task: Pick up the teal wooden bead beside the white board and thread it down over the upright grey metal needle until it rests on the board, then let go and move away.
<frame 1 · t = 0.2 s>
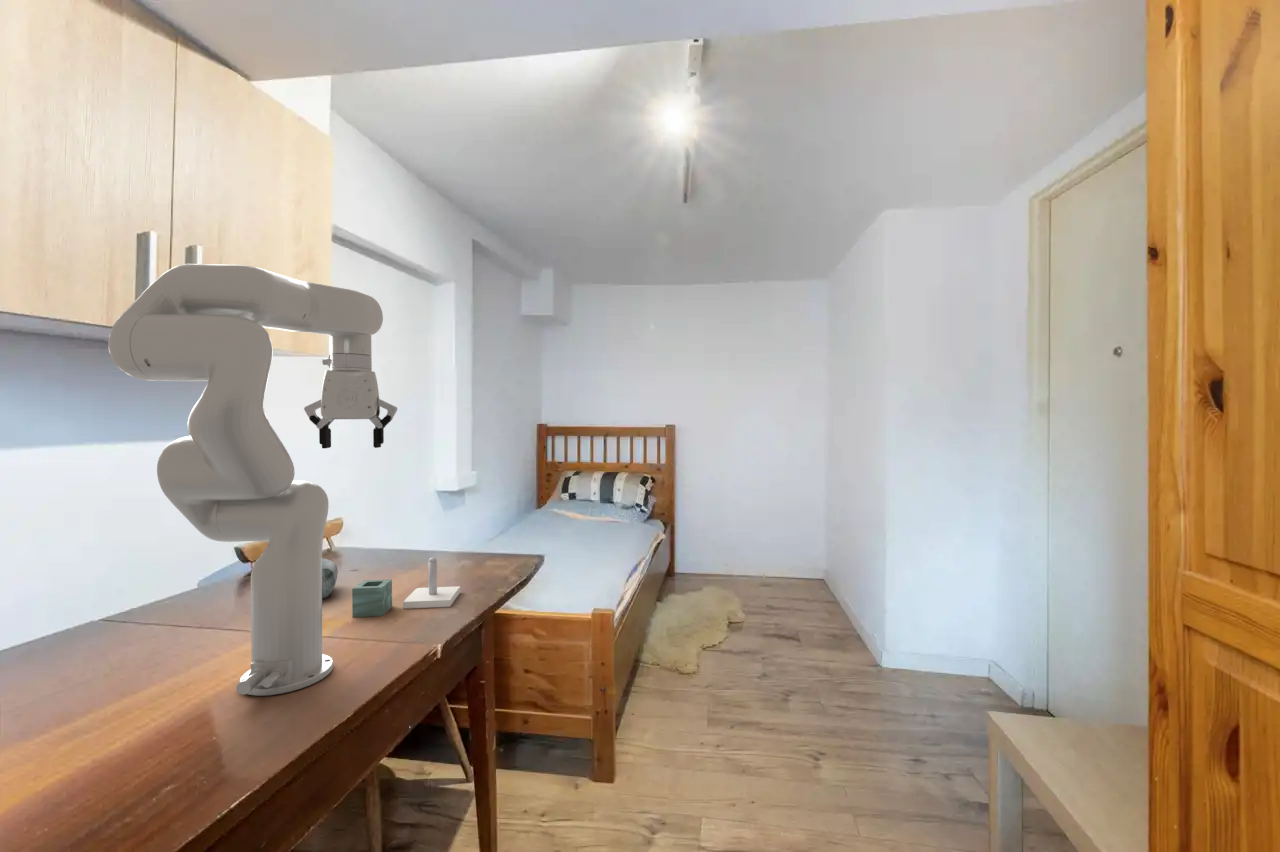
hand: (352, 447, 110), 36 cm above the table, fingers open, 9 cm apart
needle stand: (432, 600, 123), on the table
spool: (316, 595, 127), on the table
bead: (372, 611, 116), on the table
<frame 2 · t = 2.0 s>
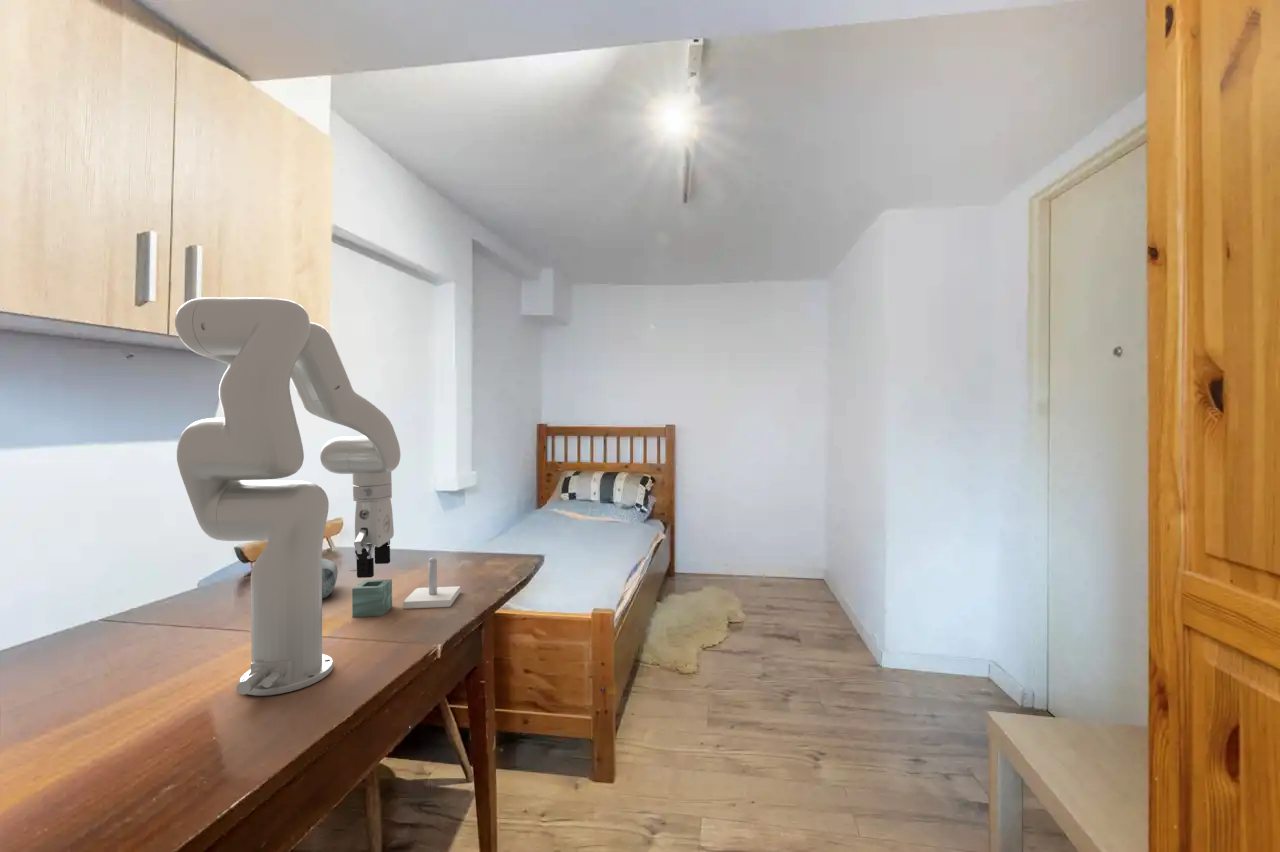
hand: (374, 569, 116), 9 cm above the table, fingers open, 9 cm apart
nothing on the table moved.
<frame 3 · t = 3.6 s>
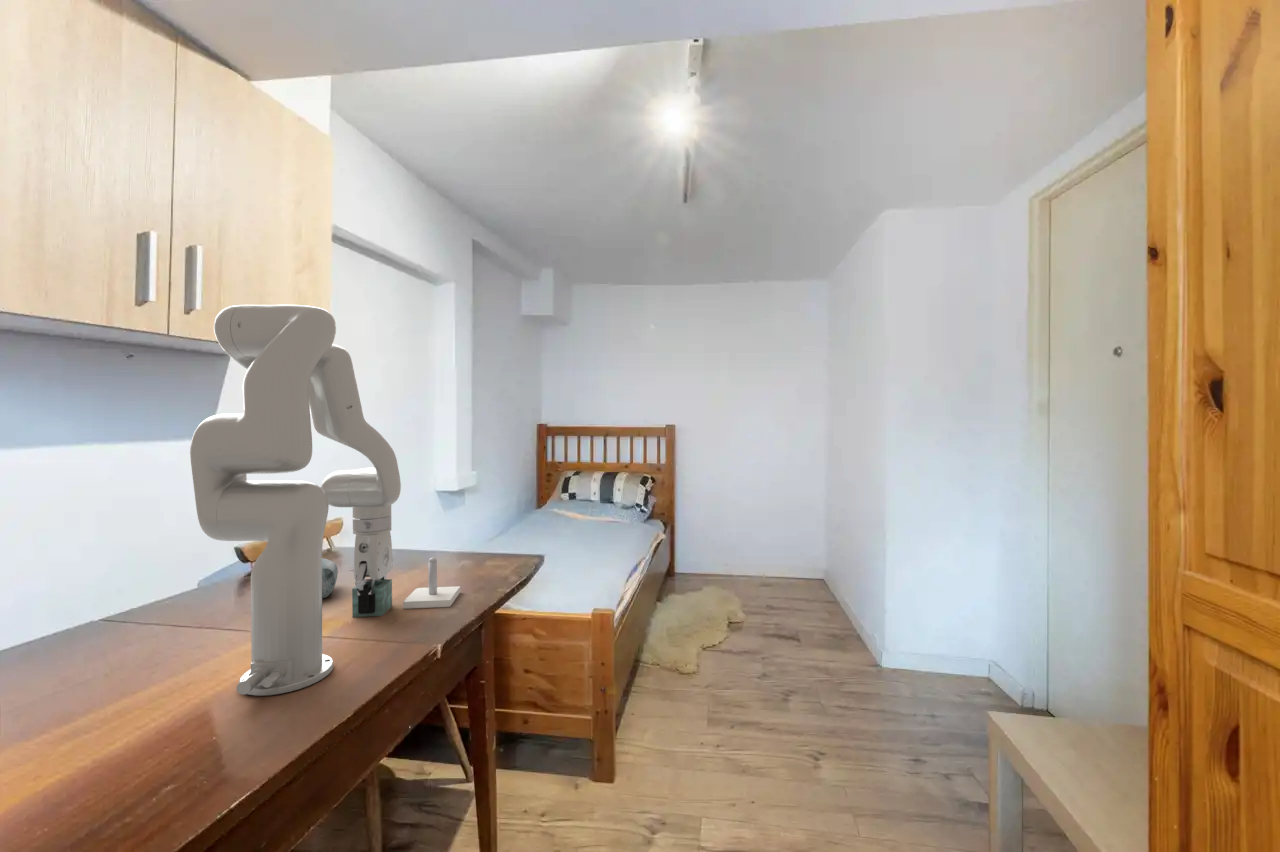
hand: (372, 606, 116), 1 cm above the table, fingers closed on bead, 5 cm apart
bead: (372, 611, 116), on the table, touching gripper
everything else where it was.
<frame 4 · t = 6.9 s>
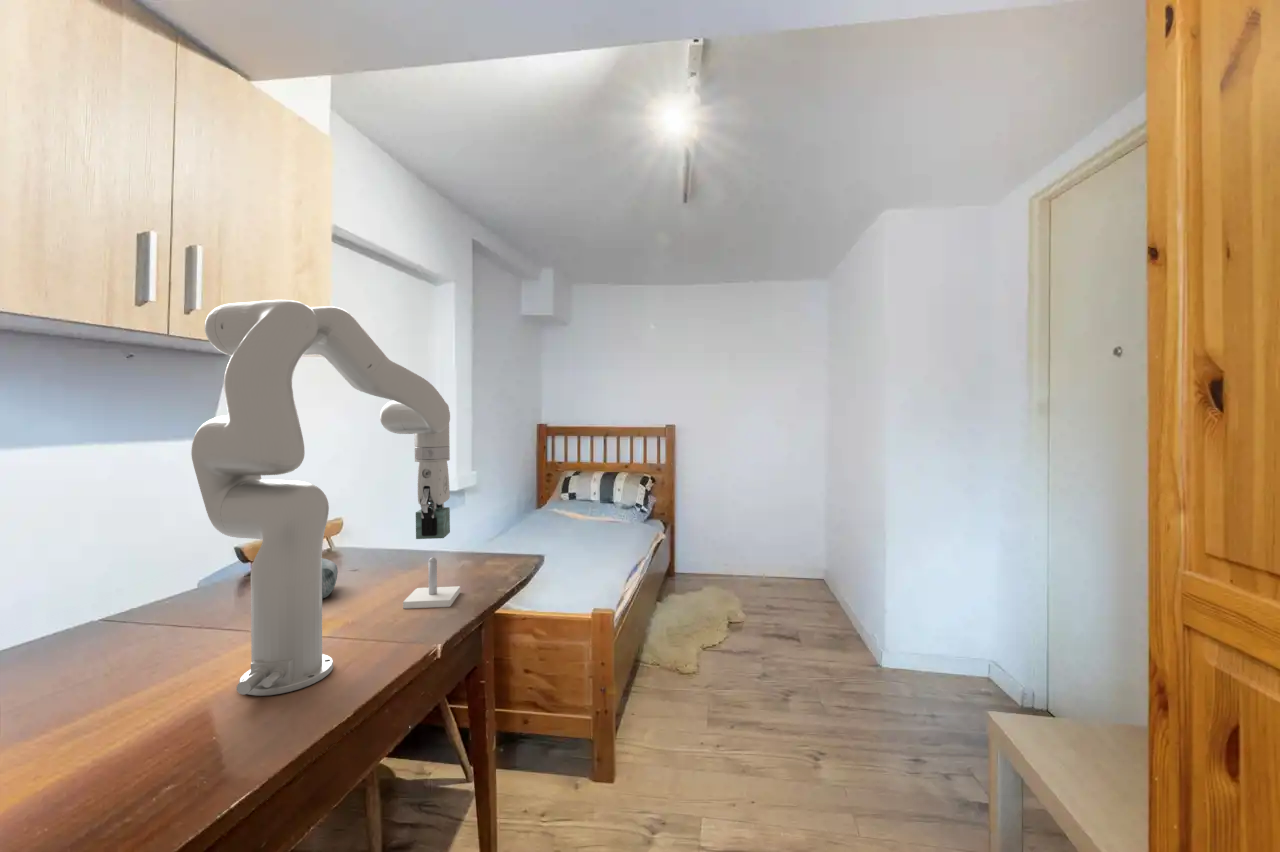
hand: (433, 531, 123), 16 cm above the table, fingers closed on bead, 5 cm apart
bead: (433, 535, 123), point 15 cm above the table, touching gripper
everything else where it was.
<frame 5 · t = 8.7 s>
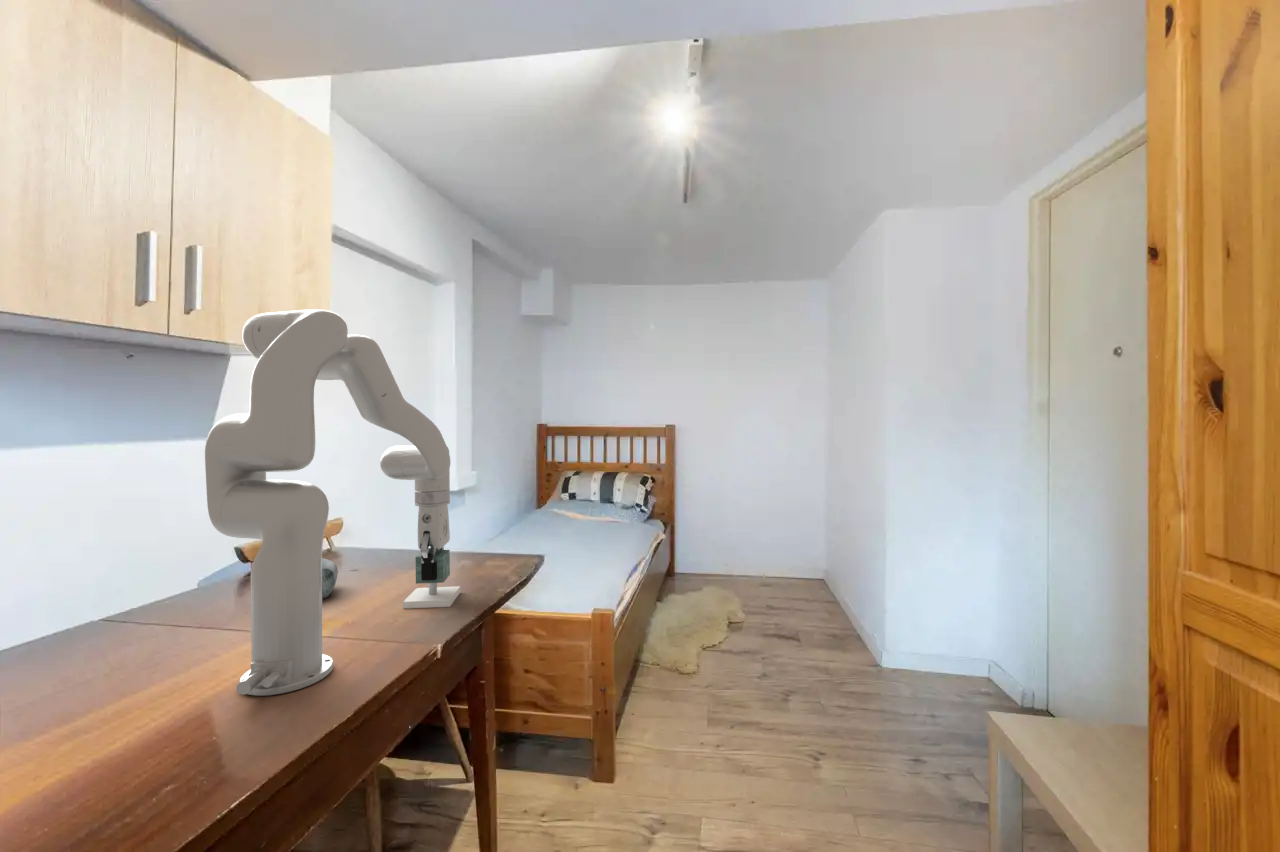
hand: (433, 574, 123), 6 cm above the table, fingers closed on bead, 5 cm apart
bead: (433, 579, 123), point 5 cm above the table, touching gripper
everything else where it was.
when the fingers open (4 cm above the table, at t = 10.3 s): bead drops 2 cm, resting on needle stand.
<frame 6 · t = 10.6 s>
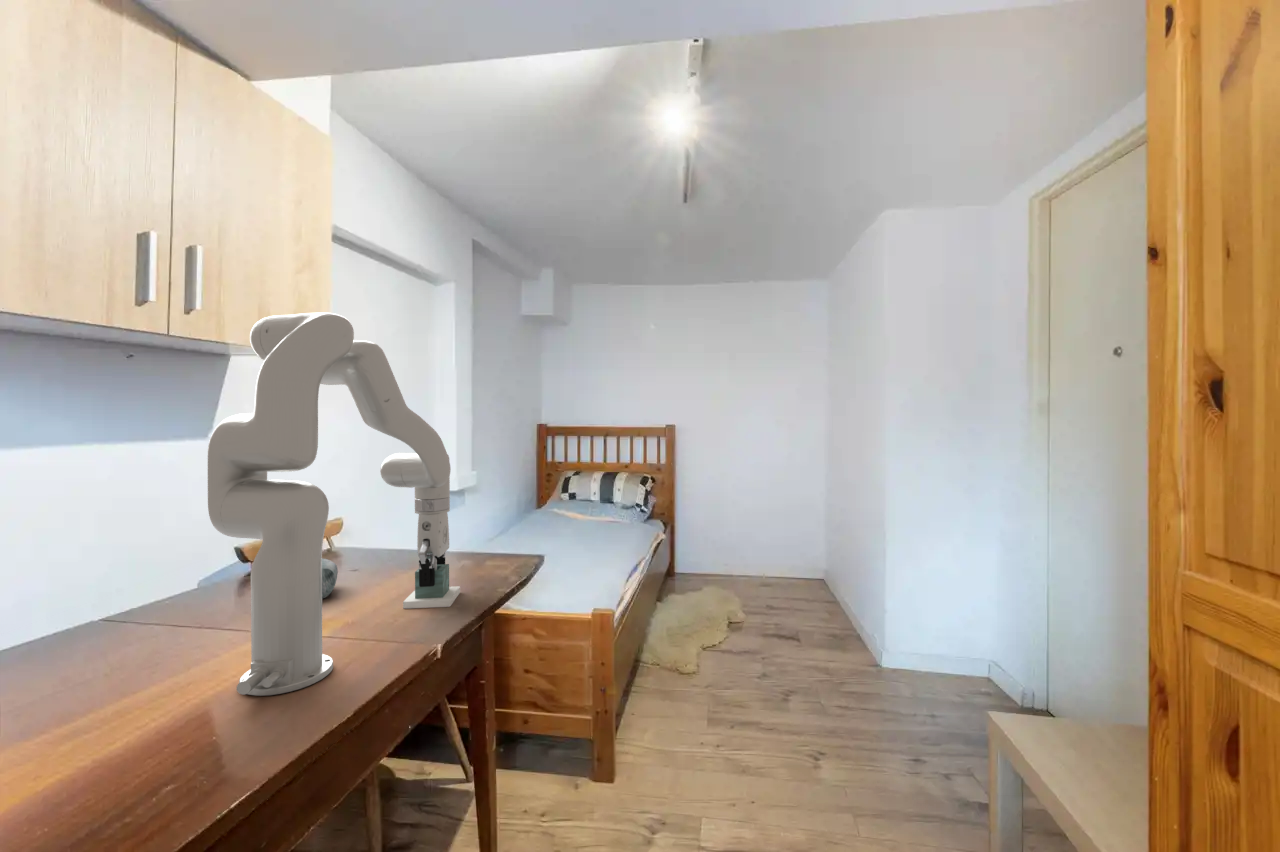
hand: (432, 579, 123), 5 cm above the table, fingers open, 9 cm apart
bead: (432, 593, 123), point 1 cm above the table, touching needle stand
everything else where it was.
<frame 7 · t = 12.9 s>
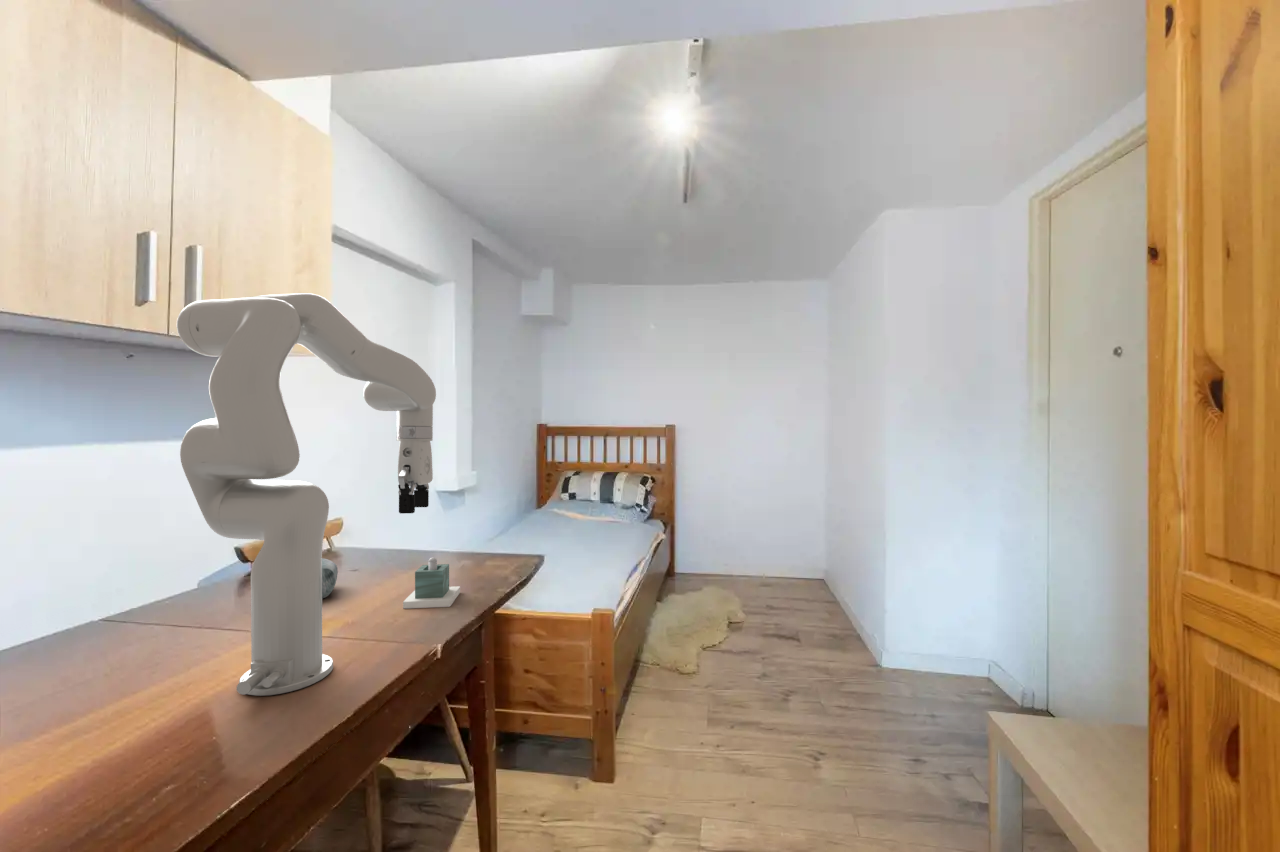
hand: (414, 510, 121), 21 cm above the table, fingers open, 9 cm apart
nothing on the table moved.
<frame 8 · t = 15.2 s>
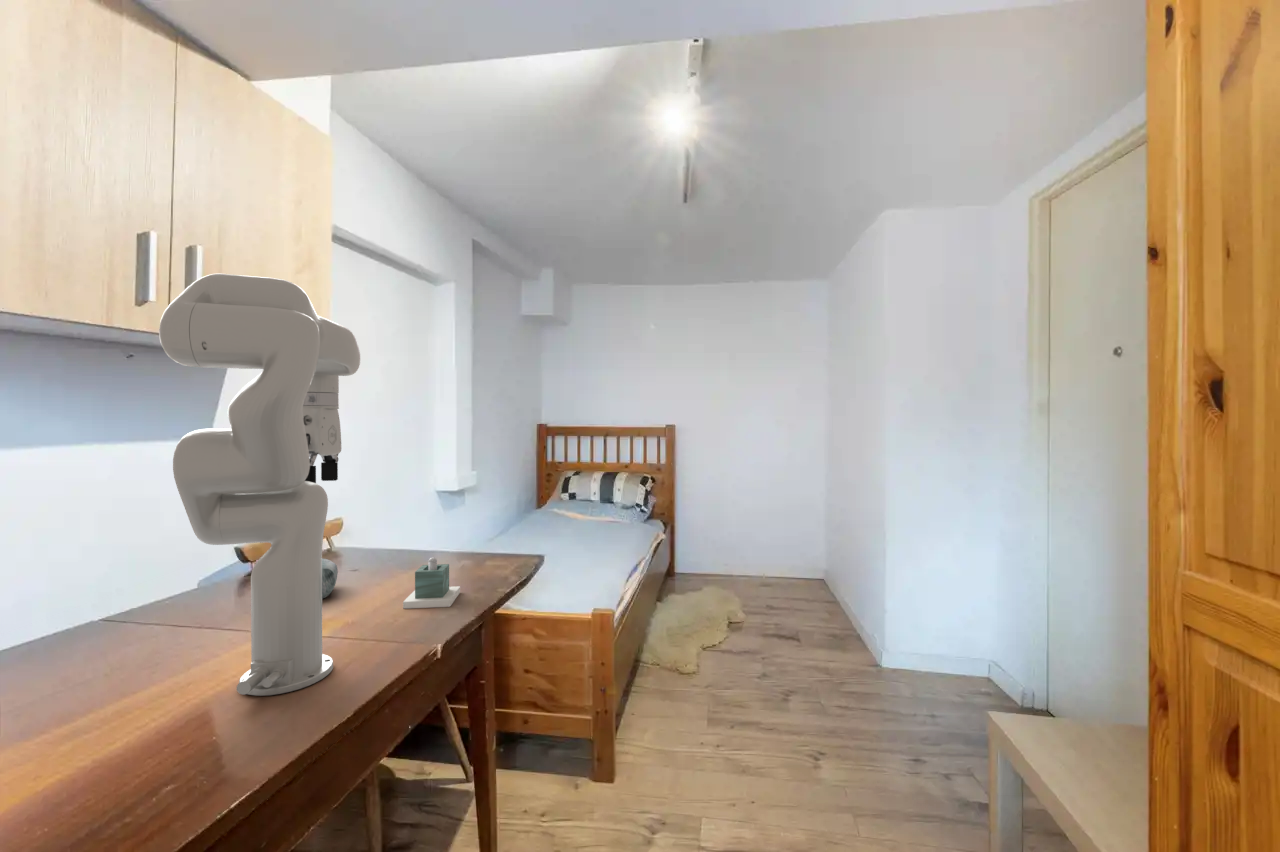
hand: (318, 483, 112), 28 cm above the table, fingers open, 9 cm apart
nothing on the table moved.
at the end: bead 0.1 cm from the needle stand (horizontally); bead point 1.5 cm above the table; the gripper is holding nothing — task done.
